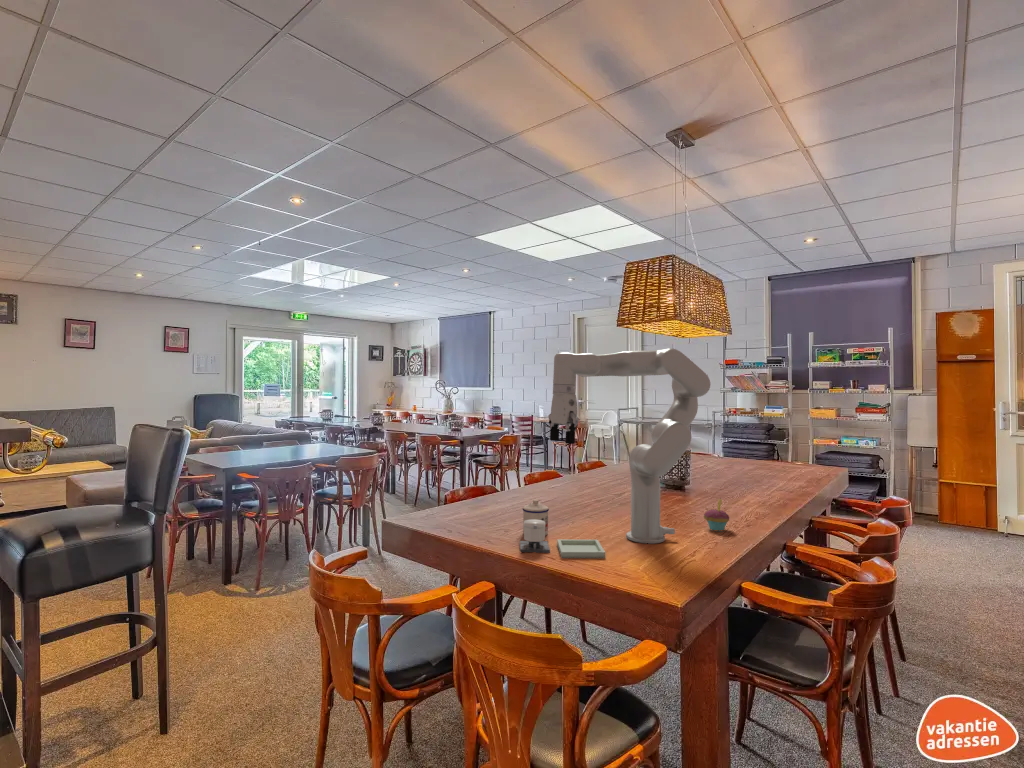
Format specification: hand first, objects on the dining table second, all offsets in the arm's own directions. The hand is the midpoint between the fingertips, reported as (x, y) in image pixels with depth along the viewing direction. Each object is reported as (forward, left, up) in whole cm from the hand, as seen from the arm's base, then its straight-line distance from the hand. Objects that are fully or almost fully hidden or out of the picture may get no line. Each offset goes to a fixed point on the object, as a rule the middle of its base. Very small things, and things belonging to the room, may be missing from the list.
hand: (561, 442), depth 169 cm
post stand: (+9, +8, -33) cm, 35 cm away
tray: (-5, +11, -33) cm, 35 cm away
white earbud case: (+9, +8, -30) cm, 32 cm away
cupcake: (-58, -15, -33) cm, 68 cm away
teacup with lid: (+7, -10, -33) cm, 35 cm away
